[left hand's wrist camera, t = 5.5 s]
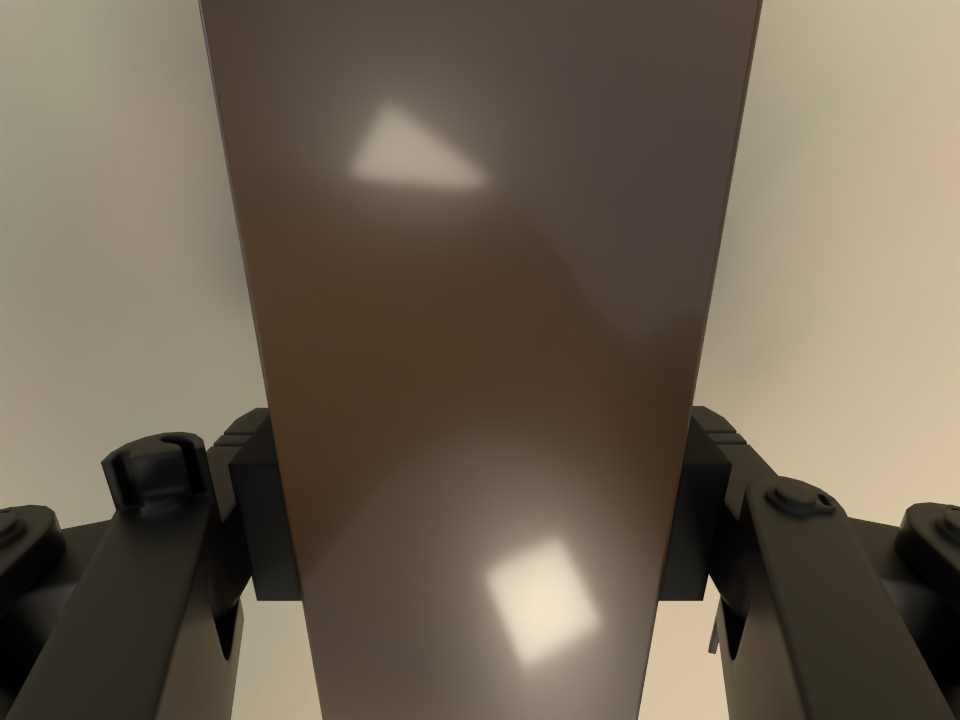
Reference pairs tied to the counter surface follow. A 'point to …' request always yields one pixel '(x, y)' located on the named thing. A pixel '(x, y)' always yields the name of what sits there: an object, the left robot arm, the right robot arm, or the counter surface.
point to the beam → (480, 325)
